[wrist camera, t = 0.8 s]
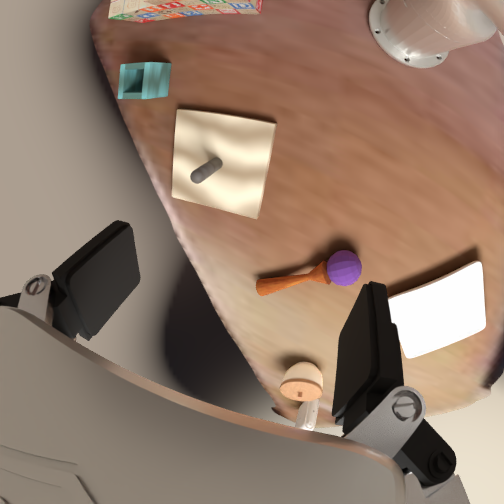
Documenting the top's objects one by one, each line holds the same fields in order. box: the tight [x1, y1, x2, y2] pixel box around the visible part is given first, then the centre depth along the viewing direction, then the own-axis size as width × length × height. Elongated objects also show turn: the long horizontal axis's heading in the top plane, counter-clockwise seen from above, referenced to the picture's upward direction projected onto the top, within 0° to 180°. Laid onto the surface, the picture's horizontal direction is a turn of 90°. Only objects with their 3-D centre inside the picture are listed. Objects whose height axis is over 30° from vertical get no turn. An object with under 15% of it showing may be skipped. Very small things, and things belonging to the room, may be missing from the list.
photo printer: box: [295, 399, 319, 431], centre depth 72 cm, size 10×4×12 cm, turn 168°
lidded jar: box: [280, 362, 323, 401], centre depth 63 cm, size 11×11×9 cm
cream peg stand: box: [172, 109, 277, 219], centre depth 39 cm, size 16×16×10 cm
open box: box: [118, 62, 171, 99], centre depth 35 cm, size 6×6×6 cm
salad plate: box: [388, 261, 486, 358], centre depth 45 cm, size 21×21×3 cm
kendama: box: [256, 250, 362, 296], centre depth 48 cm, size 6×6×20 cm
